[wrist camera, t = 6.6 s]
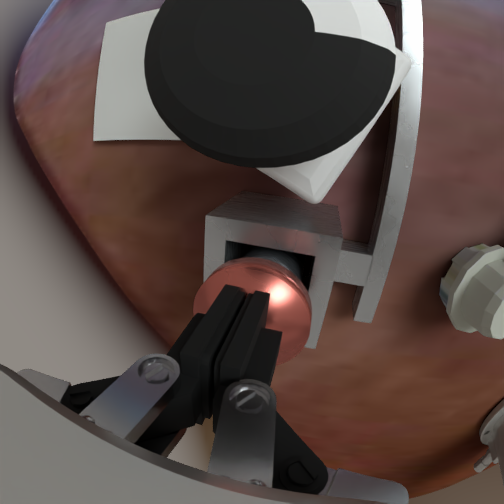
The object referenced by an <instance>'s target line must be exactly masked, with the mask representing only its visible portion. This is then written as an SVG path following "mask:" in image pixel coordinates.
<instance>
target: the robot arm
mask: <svg viewBox="0 0 504 504" xmlns="http://www.w3.org/2000/svg"><path fill="white" fill-rule="evenodd" d="M269 300H270V293H267V292H262V291H257V290H255V292H254V294H252V293H249V294H248V296H247V298H246V300H245V292H242V291H241V288H240V287H237V286H232V285H228V284H225V286H224V287H223V289H222V290H221V292H220V293H219V295H218V296H217V298H216V299H215V301H214V302H213V304H212V305H211V307H210V308H209V310H208V311H207V313H206V314H202V313H196V314H195V316H194V317H193V318H192V320H191V321H190V323H189V324H188V325H187V327H186V328H185V330H184V331H183V332H182V334H181V335H180V337H179V338H178V339H177V341H176V342H175V344H174V345H173V346H172V348H171V349H170V351H169V352H168V354H167V355H164V354H149V355H146V356H144V357H142V358H140V359H139V360H138V361H136V362H135V363H134V364H133V365H132V366H131V367H130V368H129V369H128V370H126V372H124V373H123V374H122V375H121V376H117V377H112V378H107V379H102V380H97V381H91V382H86V383H80V384H77V385H73V386H71V384H70V382H67V381H64V380H60V379H57V378H54V377H51V376H49V375H45V374H43V373H40V372H37V371H34V370H32V369H24V370H21V371H19V372H18V373H16V372H14V371H13V370H11V369H9V368H8V367H6V366H3V365H1V364H0V504H408V502H409V495H408V492H407V490H406V488H405V487H404V486H402V485H401V484H399V483H397V482H393V481H388V480H384V479H379V478H375V477H370V476H366V475H362V474H358V473H354V472H351V471H347V470H343V469H340V468H339V469H338V470H334V469H330V468H327V467H326V466H325V465H324V463H323V462H322V461H321V460H320V459H319V458H318V457H317V456H316V455H315V454H314V452H313V451H312V450H311V449H310V448H309V447H308V446H307V445H306V444H305V443H304V442H303V441H302V439H301V438H300V437H299V436H298V435H297V434H296V433H295V432H294V431H293V429H292V428H291V427H290V426H289V425H288V424H287V423H286V422H285V420H284V419H283V418H282V417H281V416H280V415H279V413H278V412H277V411H276V395H275V393H274V391H273V390H272V388H270V385H271V381H272V377H273V373H274V370H275V366H276V362H277V357H278V353H279V348H280V344H281V339H282V333H283V331H278V330H273V329H268V328H265V327H266V320H267V313H268V307H269ZM212 414H213V432H214V433H215V438H214V443H213V447H212V452H211V457H210V462H209V466H208V471H207V472H205V471H202V470H199V469H196V468H193V467H190V466H187V465H184V464H182V463H179V462H176V461H173V460H171V459H168V458H167V457H168V455H169V454H170V453H171V451H172V450H173V449H174V447H175V446H176V445H177V444H178V442H179V441H180V440H181V438H182V437H183V435H184V434H185V432H186V430H187V428H188V427H191V426H194V425H195V423H197V424H200V425H202V424H203V421H204V419H205V418H208V419H210V418H211V416H212ZM479 436H480V439H481V442H482V443H483V444H486V445H488V446H489V449H488V450H487V452H486V454H485V455H484V456H482V457H481V458H480V459H479V460H478V461H477V462H476V463H475V464H474V470H475V471H476V472H481V471H482V470H484V469H485V468H486V467H487V466H488V465H489V464H490V463H491V462H493V463H494V464H496V463H498V462H499V465H500V469H501V474H502V479H503V485H504V399H503V400H502V401H501V402H500V403H499V404H498V405H497V406H496V407H495V408H494V409H493V410H492V412H491V413H490V414H489V415H488V416H487V418H486V419H485V421H484V422H483V424H482V426H481V428H480V431H479Z"/></svg>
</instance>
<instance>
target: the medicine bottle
mask: <svg viewBox="0 0 504 504" xmlns="http://www.w3.org/2000/svg"><path fill="white" fill-rule="evenodd" d="M411 65H412V62H411V59H410V58H409V57H408V56H407V55H406V54H404V53H403V52H401V51H400V50H399V49H397V48H396V47H395V41H394V36H393V32H392V29H391V25H390V23H389V20H388V18H387V16H386V14H385V12H384V10H383V8H382V7H381V5H380V4H379V2H378V1H377V0H165V2H164V3H163V5H162V6H161V8H160V9H159V11H158V13H157V15H156V17H155V19H154V21H153V23H152V26H151V28H150V31H149V35H148V39H147V43H146V47H145V56H144V72H145V80H146V85H147V90H148V92H149V95H150V98H151V101H152V103H153V105H154V107H155V109H156V111H157V113H158V114H159V116H160V117H161V119H162V120H163V121H164V123H165V124H166V125H167V127H168V128H169V129H170V130H171V131H172V132H173V133H174V134H175V135H176V136H177V137H178V138H179V139H181V140H182V141H183V142H185V143H186V144H187V145H189V146H190V147H191V148H193V149H195V150H197V151H198V152H200V153H202V154H204V155H206V156H208V157H211V158H213V159H216V160H219V161H221V162H225V163H229V164H233V165H237V166H244V167H253V168H257V169H258V170H260V171H261V172H263V173H265V174H266V175H268V176H269V177H271V178H272V179H274V180H275V181H277V182H279V183H280V184H282V185H283V186H285V187H286V188H288V189H289V190H291V191H292V192H294V193H295V194H297V195H298V196H300V197H301V198H303V199H304V200H305V201H307V202H309V203H311V204H317V203H319V202H320V201H321V200H322V199H323V198H324V196H325V195H326V194H327V192H328V191H329V189H330V188H331V186H332V185H333V184H334V182H335V181H336V179H337V178H338V176H339V175H340V174H341V172H342V171H343V169H344V168H345V166H346V165H347V163H348V162H349V161H350V159H351V158H352V156H353V155H354V153H355V152H356V150H357V149H358V147H359V146H360V144H361V143H362V142H363V140H364V139H365V137H366V136H367V134H368V133H369V131H370V130H371V128H372V127H373V125H374V124H375V122H376V121H377V119H378V118H379V116H380V115H381V113H382V112H383V110H384V109H385V107H386V106H387V104H388V103H389V101H390V100H391V98H392V97H393V95H394V94H395V92H396V91H397V89H398V87H399V86H400V84H401V83H402V81H403V80H404V78H405V77H406V75H407V74H408V72H409V70H410V69H411Z"/></svg>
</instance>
